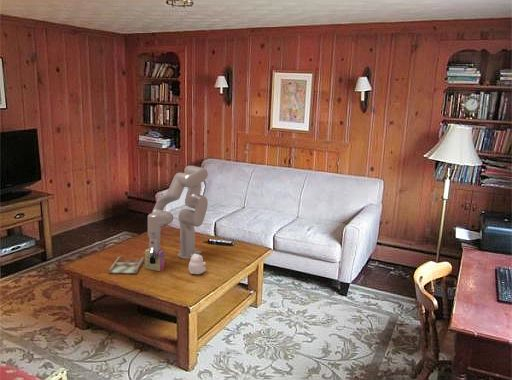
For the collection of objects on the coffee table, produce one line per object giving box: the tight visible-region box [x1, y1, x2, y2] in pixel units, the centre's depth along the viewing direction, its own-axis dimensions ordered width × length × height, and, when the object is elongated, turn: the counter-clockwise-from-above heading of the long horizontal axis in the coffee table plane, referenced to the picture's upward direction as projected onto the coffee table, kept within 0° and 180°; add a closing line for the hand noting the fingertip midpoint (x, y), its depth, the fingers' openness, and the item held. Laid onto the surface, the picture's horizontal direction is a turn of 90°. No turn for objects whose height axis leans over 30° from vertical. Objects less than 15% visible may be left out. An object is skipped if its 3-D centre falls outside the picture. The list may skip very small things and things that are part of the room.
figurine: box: [188, 253, 207, 275], centre depth 257 cm, size 10×10×12 cm
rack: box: [108, 256, 145, 276], centre depth 262 cm, size 16×20×3 cm
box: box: [144, 248, 166, 272], centre depth 262 cm, size 10×6×12 cm, turn 71°
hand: (154, 260), depth 261 cm, fingers open, 9 cm apart
